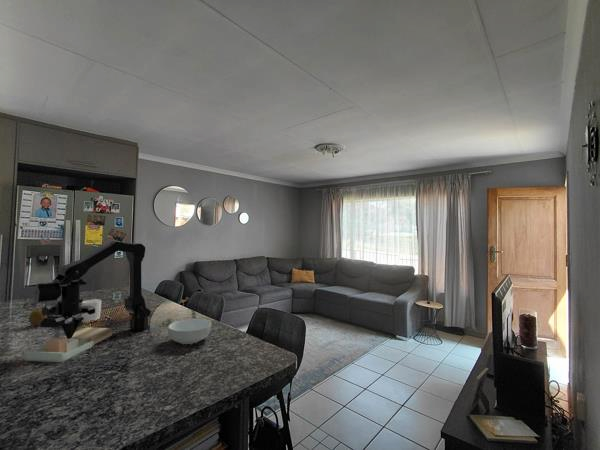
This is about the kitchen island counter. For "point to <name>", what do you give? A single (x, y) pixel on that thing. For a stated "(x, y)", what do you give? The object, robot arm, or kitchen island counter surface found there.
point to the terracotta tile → (56, 345)
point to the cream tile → (71, 344)
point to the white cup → (97, 306)
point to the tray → (56, 353)
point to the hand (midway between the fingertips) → (69, 338)
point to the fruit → (36, 317)
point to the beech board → (92, 334)
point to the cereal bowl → (189, 330)
